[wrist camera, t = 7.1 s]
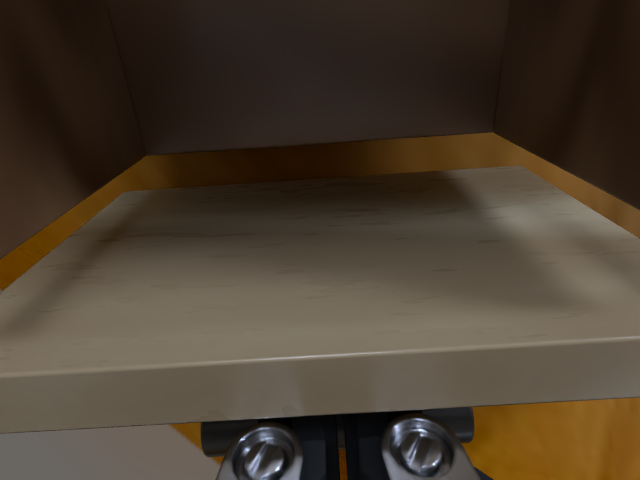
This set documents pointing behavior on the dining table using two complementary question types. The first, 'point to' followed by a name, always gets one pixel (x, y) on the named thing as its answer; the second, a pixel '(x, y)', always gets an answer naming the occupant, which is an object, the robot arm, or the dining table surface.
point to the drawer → (315, 212)
